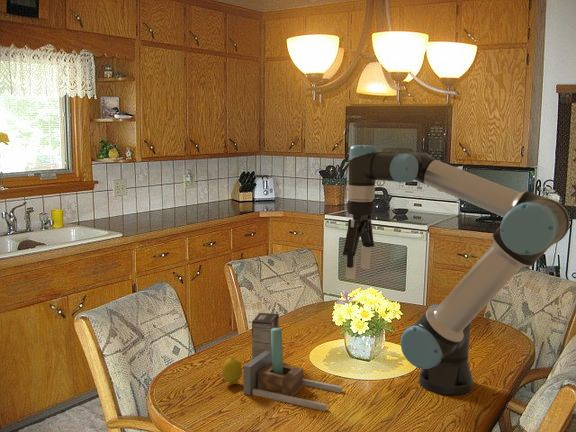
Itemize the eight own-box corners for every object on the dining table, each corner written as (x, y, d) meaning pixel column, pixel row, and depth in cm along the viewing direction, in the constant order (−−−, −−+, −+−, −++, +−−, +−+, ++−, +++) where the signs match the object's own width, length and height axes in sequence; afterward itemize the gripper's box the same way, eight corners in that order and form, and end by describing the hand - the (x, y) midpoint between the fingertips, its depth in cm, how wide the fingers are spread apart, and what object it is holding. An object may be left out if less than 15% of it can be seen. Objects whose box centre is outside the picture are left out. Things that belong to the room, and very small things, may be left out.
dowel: (285, 384, 170) (283, 328, 168) (281, 388, 167) (278, 331, 165) (276, 382, 171) (273, 327, 169) (271, 386, 168) (268, 330, 166)
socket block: (302, 387, 170) (303, 368, 170) (290, 398, 163) (291, 379, 162) (270, 380, 175) (270, 362, 174) (257, 391, 167) (257, 372, 167)
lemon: (233, 390, 170) (234, 362, 169) (218, 385, 173) (218, 358, 172) (245, 383, 175) (245, 356, 174) (230, 378, 178) (230, 352, 177)
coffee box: (258, 361, 192) (259, 311, 189) (278, 363, 190) (279, 313, 188) (251, 372, 183) (251, 321, 180) (271, 374, 181) (272, 322, 179)
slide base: (346, 394, 169) (347, 363, 168) (326, 417, 155) (327, 383, 154) (265, 377, 179) (266, 348, 178) (240, 397, 166) (241, 366, 164)
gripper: (361, 195, 185) (359, 263, 188) (332, 203, 162) (330, 281, 166) (385, 196, 182) (382, 266, 185) (359, 205, 159) (357, 284, 163)
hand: (358, 273), depth 175 cm, fingers open, 13 cm apart
